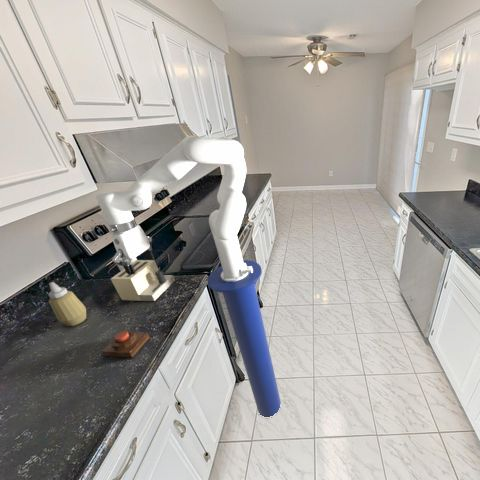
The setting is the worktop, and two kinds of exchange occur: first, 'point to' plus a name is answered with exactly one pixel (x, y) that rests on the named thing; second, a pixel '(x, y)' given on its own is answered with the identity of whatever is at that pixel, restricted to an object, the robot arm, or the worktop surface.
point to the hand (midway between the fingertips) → (141, 266)
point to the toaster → (141, 282)
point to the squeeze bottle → (66, 305)
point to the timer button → (122, 336)
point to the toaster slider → (160, 277)
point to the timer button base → (126, 345)
